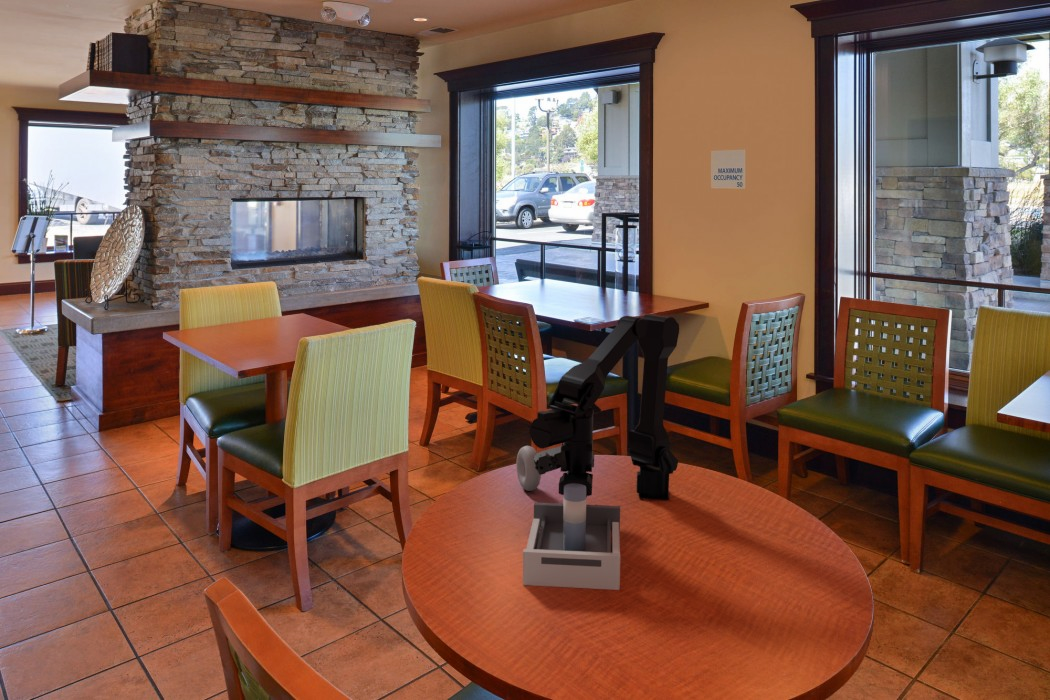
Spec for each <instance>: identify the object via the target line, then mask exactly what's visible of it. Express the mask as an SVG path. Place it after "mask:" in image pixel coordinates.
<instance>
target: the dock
mask: <svg viewBox="0 0 1050 700" xmlns="http://www.w3.org/2000/svg"><path fill="white" fill-rule="evenodd" d="M539 533H540V519H534V518H532V524H531V527H530V532H529V536H528V540H527V542H526V548H523V550H522V585H523V586H535V587H537V586H538V587H540V586H541V587H542V586H543V587H558V588H575V589H576V588H577V589H594V590H595V589H597V590H612V591H613V590H614V591H620V583H621V582H620V581H621V580H620V579H621V552H620V551H621V550H620V548H621V547H620V531H619V522H612V531H611V553H603V552H582V551H561V550H540V549H536V547H537V542H538V538H539Z"/></svg>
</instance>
